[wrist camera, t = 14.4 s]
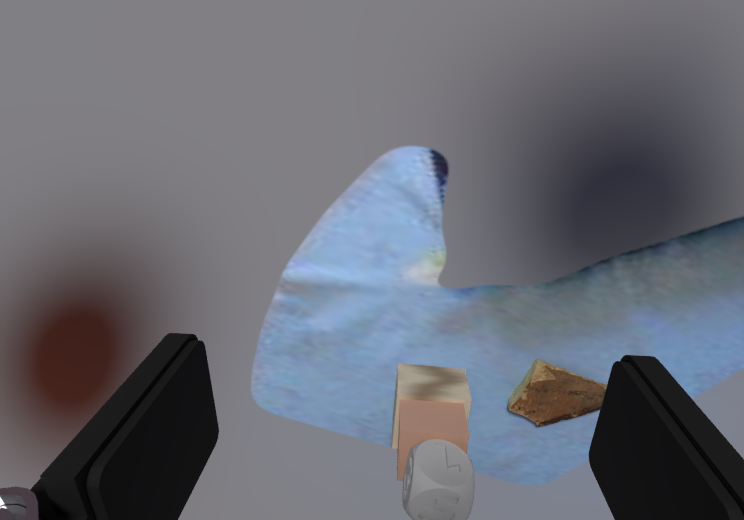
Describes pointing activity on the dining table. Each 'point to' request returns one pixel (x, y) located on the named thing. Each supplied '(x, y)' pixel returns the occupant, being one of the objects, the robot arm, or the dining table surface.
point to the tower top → (429, 426)
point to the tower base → (429, 388)
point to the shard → (555, 394)
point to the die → (438, 482)
